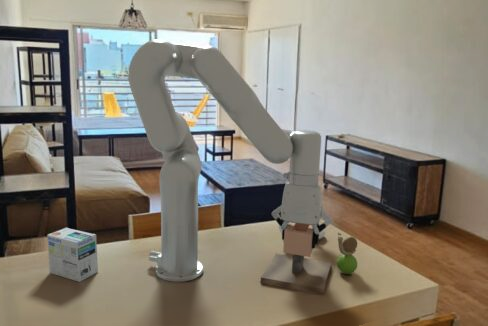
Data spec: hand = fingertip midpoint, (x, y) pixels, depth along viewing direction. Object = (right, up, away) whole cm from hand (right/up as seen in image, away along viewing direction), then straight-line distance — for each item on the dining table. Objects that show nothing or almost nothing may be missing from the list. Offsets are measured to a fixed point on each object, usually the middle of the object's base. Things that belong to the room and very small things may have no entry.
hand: (299, 243), depth 116 cm
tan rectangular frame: (0, -1, 0) cm, 1 cm away
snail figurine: (+13, -9, +4) cm, 16 cm away
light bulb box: (-59, -8, -1) cm, 60 cm away
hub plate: (0, -9, +2) cm, 9 cm away
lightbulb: (-2, -5, +18) cm, 19 cm away
